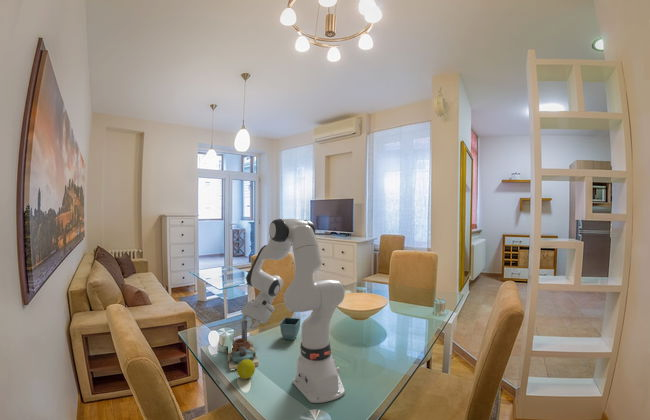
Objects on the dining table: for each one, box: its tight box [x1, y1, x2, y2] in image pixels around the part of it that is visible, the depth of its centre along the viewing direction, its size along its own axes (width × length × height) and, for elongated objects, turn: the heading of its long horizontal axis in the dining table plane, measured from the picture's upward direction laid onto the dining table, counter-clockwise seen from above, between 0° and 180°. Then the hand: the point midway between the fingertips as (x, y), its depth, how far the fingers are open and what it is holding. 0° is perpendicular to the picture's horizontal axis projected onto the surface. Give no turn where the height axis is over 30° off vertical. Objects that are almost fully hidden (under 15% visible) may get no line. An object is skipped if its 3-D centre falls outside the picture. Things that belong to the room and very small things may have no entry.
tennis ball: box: [236, 359, 256, 380], centre depth 119 cm, size 7×7×7 cm
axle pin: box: [240, 320, 248, 340], centre depth 151 cm, size 3×3×10 cm
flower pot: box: [279, 317, 301, 341], centre depth 154 cm, size 9×9×9 cm
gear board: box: [227, 337, 259, 370], centre depth 135 cm, size 22×12×6 cm, turn 22°
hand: (246, 326), depth 152 cm, fingers open, 8 cm apart
